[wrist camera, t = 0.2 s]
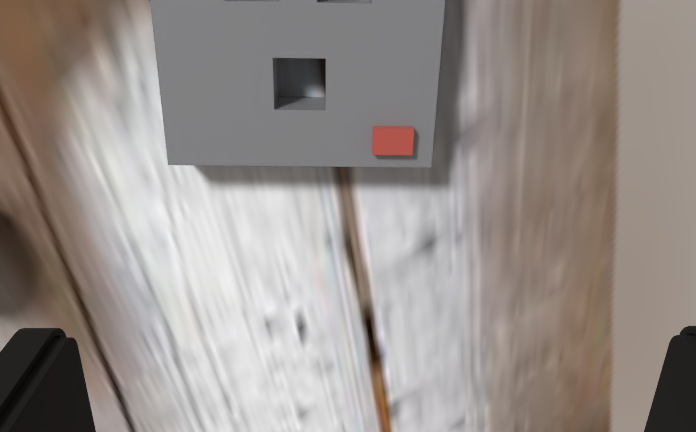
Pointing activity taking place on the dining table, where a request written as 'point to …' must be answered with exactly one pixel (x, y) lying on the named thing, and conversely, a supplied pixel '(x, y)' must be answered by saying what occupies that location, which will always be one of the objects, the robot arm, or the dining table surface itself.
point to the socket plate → (298, 112)
